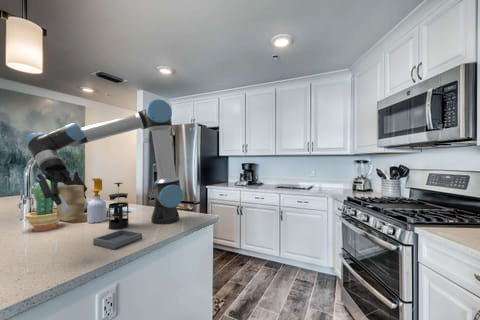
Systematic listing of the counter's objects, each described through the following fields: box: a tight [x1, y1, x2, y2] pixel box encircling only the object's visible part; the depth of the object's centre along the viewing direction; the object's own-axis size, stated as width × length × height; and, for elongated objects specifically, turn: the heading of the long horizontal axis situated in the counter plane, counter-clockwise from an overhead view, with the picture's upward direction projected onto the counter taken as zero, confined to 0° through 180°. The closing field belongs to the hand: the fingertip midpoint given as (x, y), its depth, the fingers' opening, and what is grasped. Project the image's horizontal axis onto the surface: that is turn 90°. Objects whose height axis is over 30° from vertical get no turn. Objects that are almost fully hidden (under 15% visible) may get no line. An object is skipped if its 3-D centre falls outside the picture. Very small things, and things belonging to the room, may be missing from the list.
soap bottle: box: [86, 177, 107, 224], centre depth 126 cm, size 9×9×25 cm
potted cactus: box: [24, 179, 60, 232], centre depth 114 cm, size 15×15×25 cm
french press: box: [107, 182, 130, 231], centre depth 116 cm, size 12×9×23 cm
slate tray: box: [92, 229, 143, 251], centre depth 94 cm, size 13×13×2 cm
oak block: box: [56, 185, 85, 222], centre depth 83 cm, size 6×6×12 cm
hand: (76, 208), depth 82 cm, fingers closed on oak block, 6 cm apart
